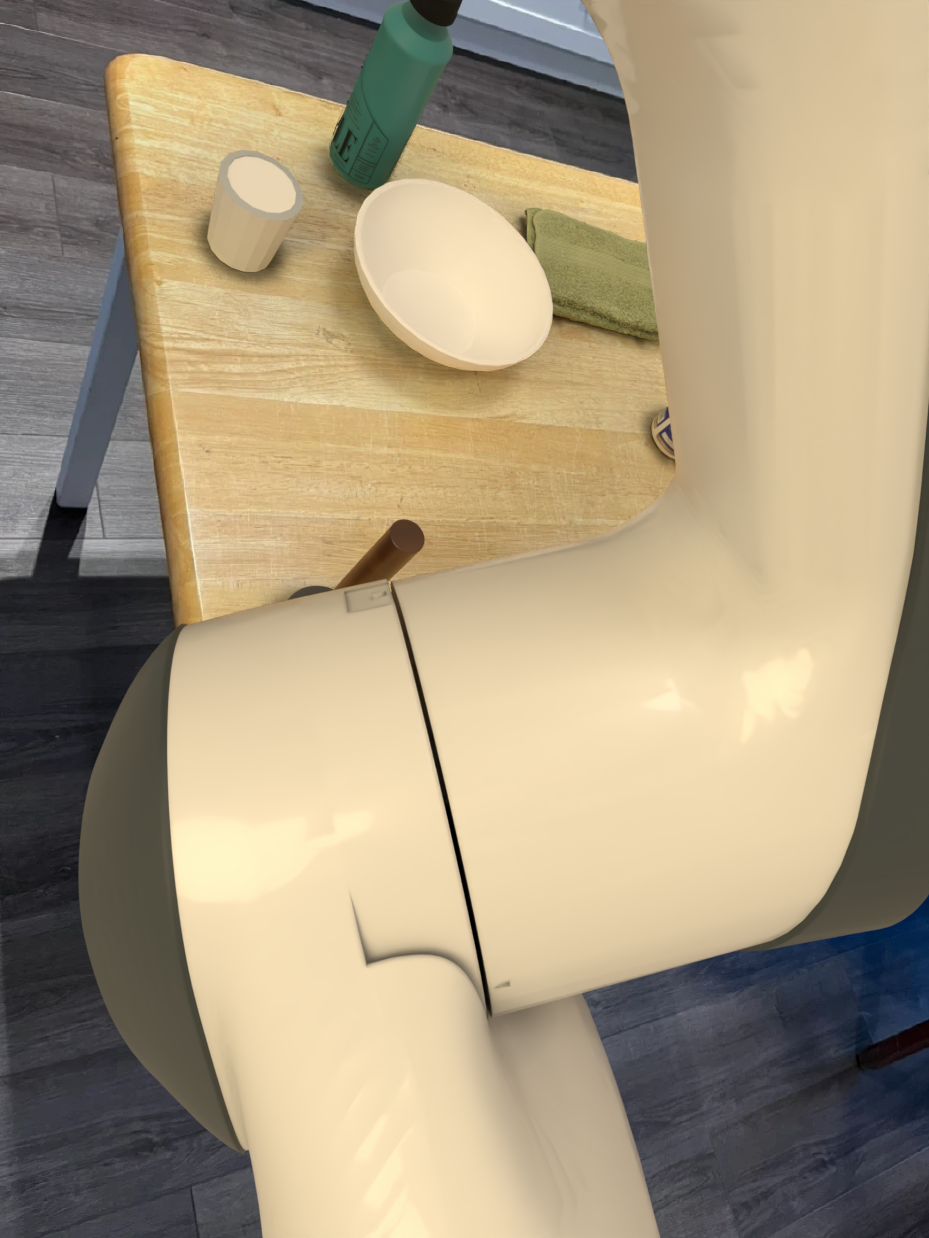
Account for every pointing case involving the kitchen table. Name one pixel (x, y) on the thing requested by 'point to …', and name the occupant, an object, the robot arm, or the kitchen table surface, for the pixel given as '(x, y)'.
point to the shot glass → (252, 209)
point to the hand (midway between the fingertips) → (370, 710)
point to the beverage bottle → (392, 90)
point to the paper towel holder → (379, 558)
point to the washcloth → (594, 273)
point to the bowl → (451, 276)
